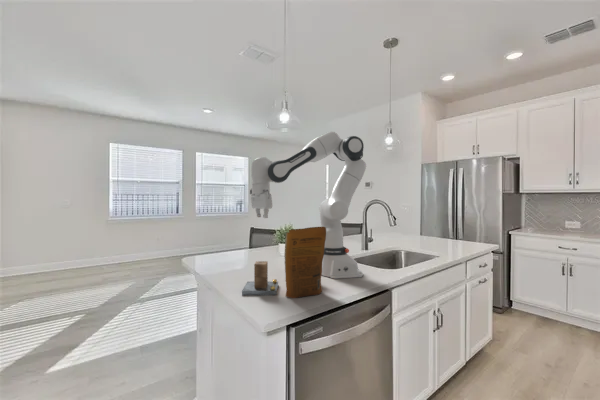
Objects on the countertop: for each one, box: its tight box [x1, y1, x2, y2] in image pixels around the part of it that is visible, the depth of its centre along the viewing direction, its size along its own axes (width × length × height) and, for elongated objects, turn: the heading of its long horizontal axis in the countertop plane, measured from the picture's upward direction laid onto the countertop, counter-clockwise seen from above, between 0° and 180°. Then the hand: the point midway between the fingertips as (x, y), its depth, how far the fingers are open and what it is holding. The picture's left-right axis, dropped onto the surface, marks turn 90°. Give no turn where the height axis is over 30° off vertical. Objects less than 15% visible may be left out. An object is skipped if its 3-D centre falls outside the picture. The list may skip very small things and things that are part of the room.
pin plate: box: [241, 278, 279, 296], centre depth 118 cm, size 14×12×6 cm
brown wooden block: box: [253, 260, 269, 288], centre depth 118 cm, size 5×5×10 cm
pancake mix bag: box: [284, 226, 326, 299], centre depth 112 cm, size 7×19×28 cm, turn 112°
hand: (262, 217), depth 138 cm, fingers open, 8 cm apart
